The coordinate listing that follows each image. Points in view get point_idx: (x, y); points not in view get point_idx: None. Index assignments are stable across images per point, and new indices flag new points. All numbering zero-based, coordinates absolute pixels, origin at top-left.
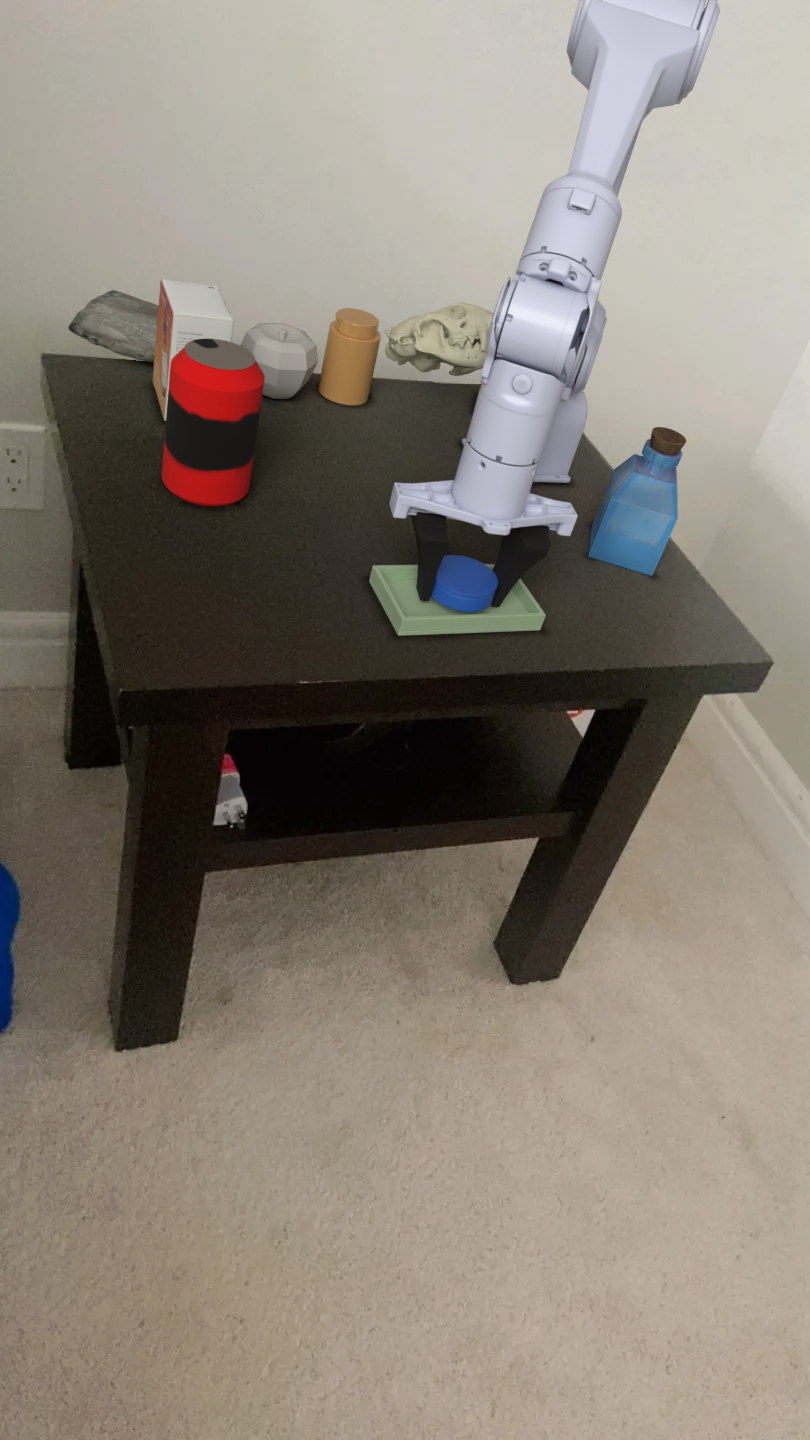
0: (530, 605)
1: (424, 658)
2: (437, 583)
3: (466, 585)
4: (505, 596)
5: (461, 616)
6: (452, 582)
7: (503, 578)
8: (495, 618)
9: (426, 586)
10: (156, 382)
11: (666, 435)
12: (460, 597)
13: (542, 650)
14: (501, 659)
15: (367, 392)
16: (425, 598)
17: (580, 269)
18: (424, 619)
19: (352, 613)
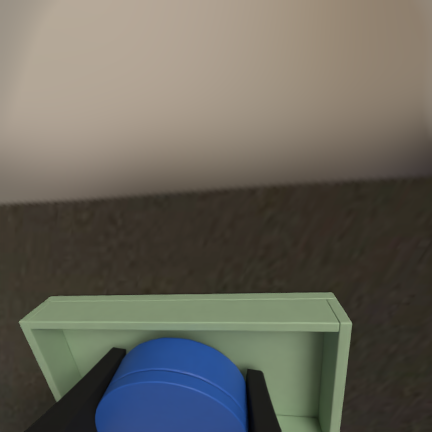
0: (51, 347)
1: (302, 228)
2: (244, 419)
3: (175, 410)
4: (89, 371)
5: (201, 325)
6: (207, 421)
7: (75, 428)
8: (125, 318)
9: (270, 411)
10: None
11: None
12: (198, 376)
13: (52, 247)
14: (136, 223)
15: None
16: (256, 376)
17: None
18: (293, 321)
19: (395, 350)
